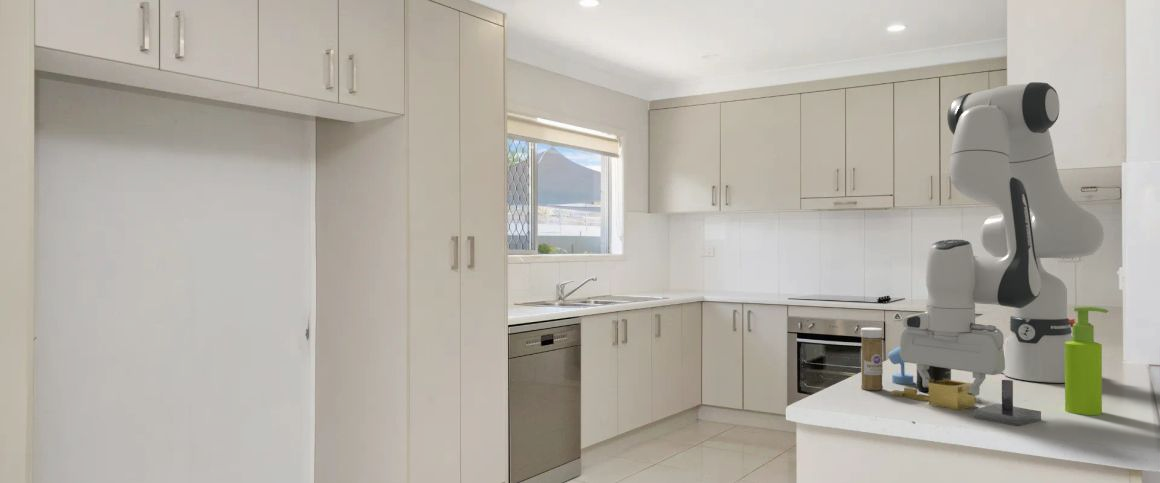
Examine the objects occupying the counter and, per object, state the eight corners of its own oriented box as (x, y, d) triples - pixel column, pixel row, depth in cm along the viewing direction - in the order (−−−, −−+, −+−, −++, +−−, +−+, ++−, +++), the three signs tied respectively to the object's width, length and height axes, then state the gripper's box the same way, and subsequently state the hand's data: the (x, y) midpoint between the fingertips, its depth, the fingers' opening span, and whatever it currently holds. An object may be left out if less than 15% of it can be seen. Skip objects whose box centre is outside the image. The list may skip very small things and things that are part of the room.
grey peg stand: (997, 411, 147) (997, 374, 147) (1041, 419, 141) (1040, 381, 141) (974, 417, 143) (974, 379, 143) (1018, 426, 136) (1018, 386, 136)
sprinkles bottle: (871, 391, 166) (871, 329, 166) (856, 388, 171) (856, 327, 171) (887, 389, 168) (887, 328, 168) (872, 386, 172) (871, 326, 172)
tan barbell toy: (896, 393, 164) (896, 385, 164) (930, 399, 158) (930, 391, 158) (889, 394, 163) (889, 386, 163) (923, 401, 157) (923, 392, 157)
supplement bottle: (955, 394, 163) (954, 338, 163) (920, 393, 164) (920, 337, 164) (946, 388, 170) (946, 333, 169) (913, 387, 171) (913, 333, 171)
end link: (945, 400, 157) (945, 379, 157) (974, 405, 152) (974, 383, 152) (928, 404, 154) (928, 382, 154) (957, 410, 149) (957, 387, 149)
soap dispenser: (1109, 417, 142) (1109, 309, 142) (1065, 413, 146) (1064, 307, 145) (1107, 410, 147) (1107, 306, 147) (1065, 406, 151) (1064, 305, 150)
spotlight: (924, 382, 176) (893, 379, 180) (923, 339, 175) (893, 336, 180) (916, 386, 172) (885, 382, 177) (916, 341, 172) (885, 339, 177)
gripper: (1011, 325, 146) (1011, 398, 146) (913, 316, 163) (913, 381, 163) (994, 327, 142) (993, 402, 142) (895, 318, 159) (895, 384, 159)
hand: (950, 390), depth 153 cm, fingers open, 8 cm apart
